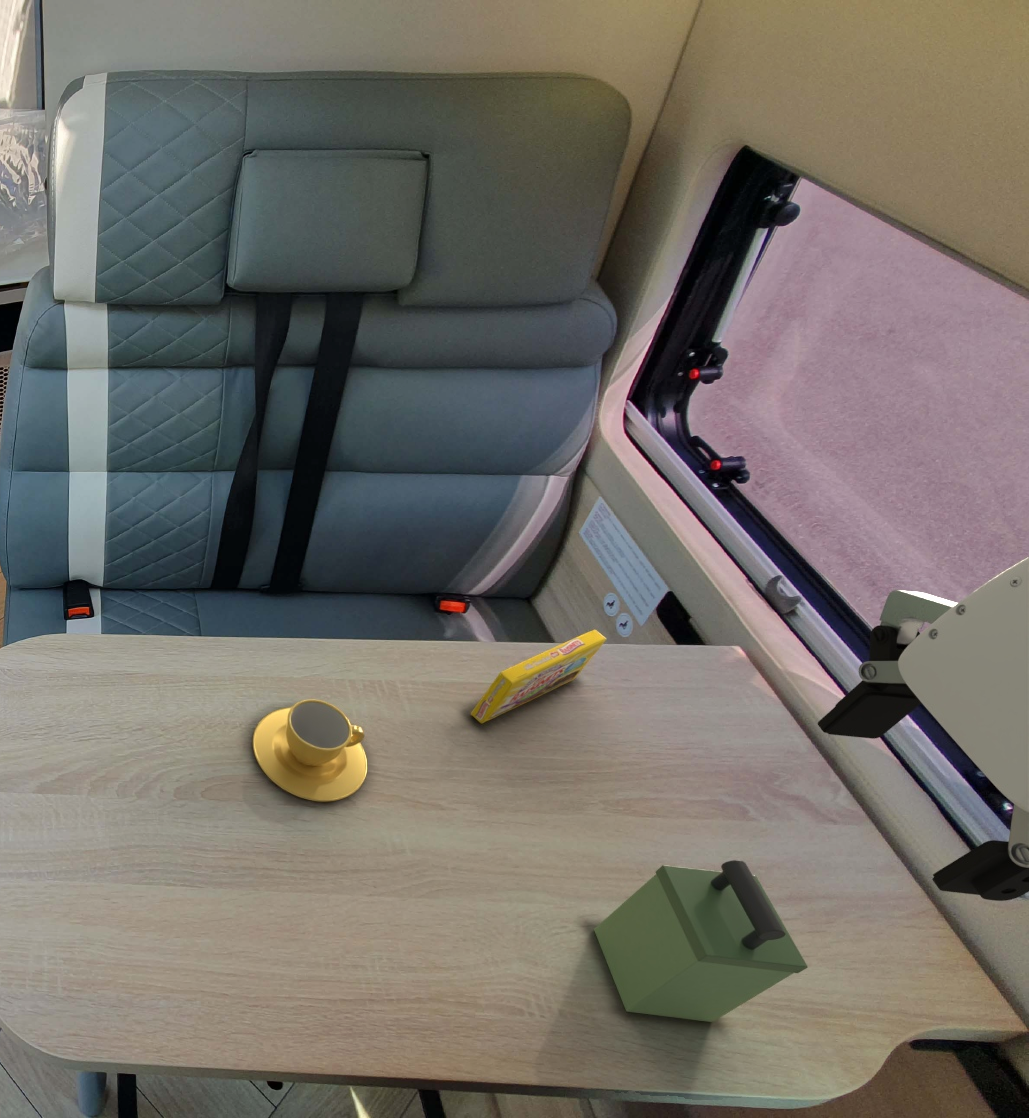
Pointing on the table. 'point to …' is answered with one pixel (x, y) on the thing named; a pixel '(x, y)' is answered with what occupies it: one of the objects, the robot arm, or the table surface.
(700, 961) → the lunchbox
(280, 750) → the cup
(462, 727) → the table surface
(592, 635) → the candy box
